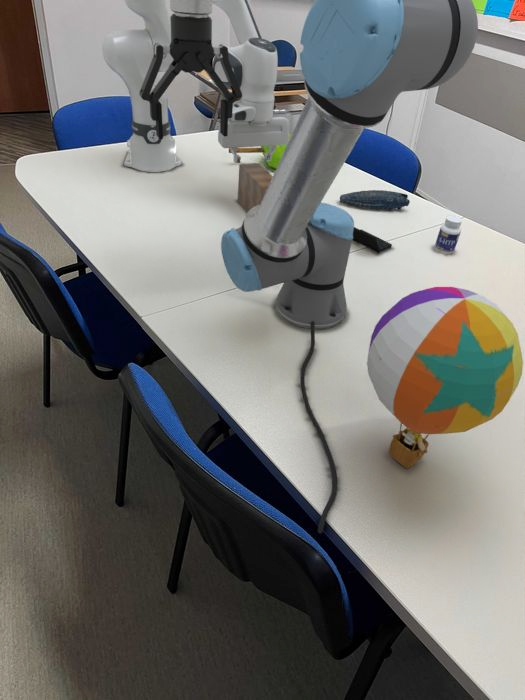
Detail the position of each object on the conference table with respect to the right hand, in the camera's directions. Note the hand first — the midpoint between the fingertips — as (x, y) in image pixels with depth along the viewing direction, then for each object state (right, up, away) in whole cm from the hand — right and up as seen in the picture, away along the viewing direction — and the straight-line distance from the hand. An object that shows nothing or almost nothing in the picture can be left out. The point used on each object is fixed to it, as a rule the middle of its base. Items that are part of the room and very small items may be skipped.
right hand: (192, 135), depth 107 cm
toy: (+37, -62, -25) cm, 76 cm away
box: (+15, -7, +40) cm, 44 cm away
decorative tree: (+17, +21, +75) cm, 80 cm away
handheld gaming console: (+42, -16, +32) cm, 55 cm away
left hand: (+12, +9, +40) cm, 42 cm away
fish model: (+48, 0, +53) cm, 72 cm away
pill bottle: (+64, -17, +33) cm, 74 cm away
